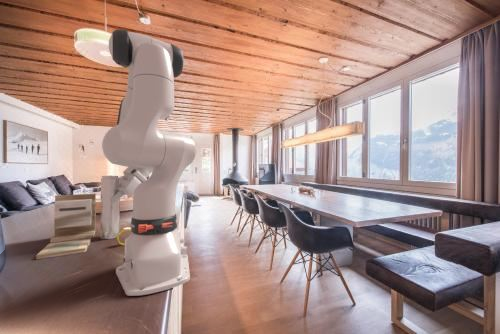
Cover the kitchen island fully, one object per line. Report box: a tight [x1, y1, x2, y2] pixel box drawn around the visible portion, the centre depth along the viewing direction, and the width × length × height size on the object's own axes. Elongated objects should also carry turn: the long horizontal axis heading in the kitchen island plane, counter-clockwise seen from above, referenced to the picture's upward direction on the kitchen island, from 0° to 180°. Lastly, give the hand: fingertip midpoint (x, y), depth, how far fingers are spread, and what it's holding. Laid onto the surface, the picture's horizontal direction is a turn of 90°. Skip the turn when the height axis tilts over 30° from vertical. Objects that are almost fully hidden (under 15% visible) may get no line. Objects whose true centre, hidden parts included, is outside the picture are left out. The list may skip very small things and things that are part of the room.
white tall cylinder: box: [100, 175, 121, 240], centre depth 87 cm, size 6×6×25 cm
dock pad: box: [35, 238, 92, 260], centre depth 73 cm, size 12×12×1 cm
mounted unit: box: [49, 193, 97, 244], centre depth 86 cm, size 7×13×17 cm, turn 120°
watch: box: [116, 226, 131, 246], centre depth 79 cm, size 6×3×6 cm, turn 129°
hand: (108, 200), depth 87 cm, fingers closed on white tall cylinder, 6 cm apart
